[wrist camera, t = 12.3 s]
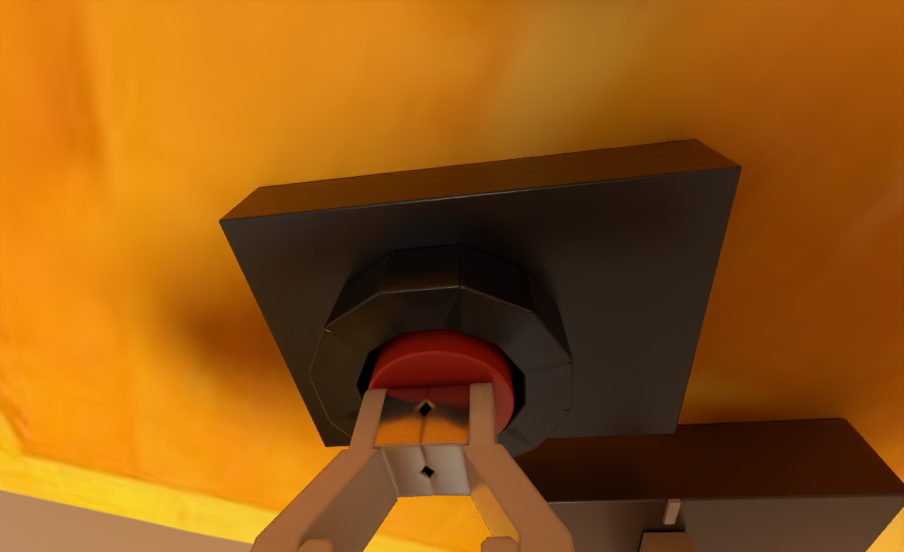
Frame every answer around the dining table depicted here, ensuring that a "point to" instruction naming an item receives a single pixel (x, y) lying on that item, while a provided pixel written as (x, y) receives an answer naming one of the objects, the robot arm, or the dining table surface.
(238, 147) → the dining table surface
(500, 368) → the button
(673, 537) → the knob
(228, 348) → the dining table surface
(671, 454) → the panel
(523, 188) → the button box
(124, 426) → the dining table surface
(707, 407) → the dining table surface
